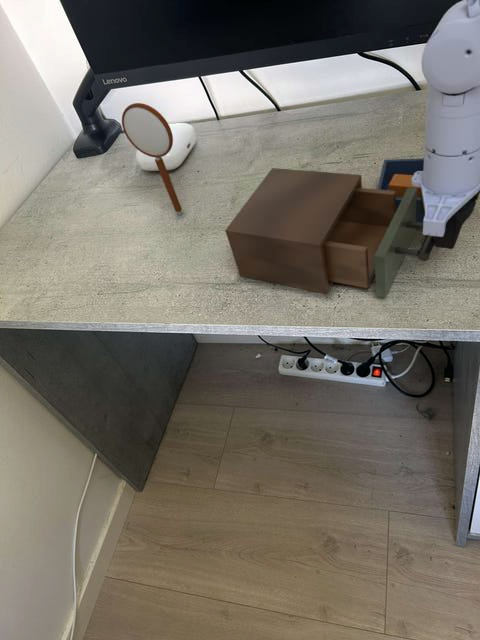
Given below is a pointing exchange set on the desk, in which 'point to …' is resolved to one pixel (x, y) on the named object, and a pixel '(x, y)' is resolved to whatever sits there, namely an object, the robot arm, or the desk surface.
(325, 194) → the cabinet
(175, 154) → the earbud case
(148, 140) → the magnifying glass
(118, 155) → the desk surface
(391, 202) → the drawer
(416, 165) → the open box
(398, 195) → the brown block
